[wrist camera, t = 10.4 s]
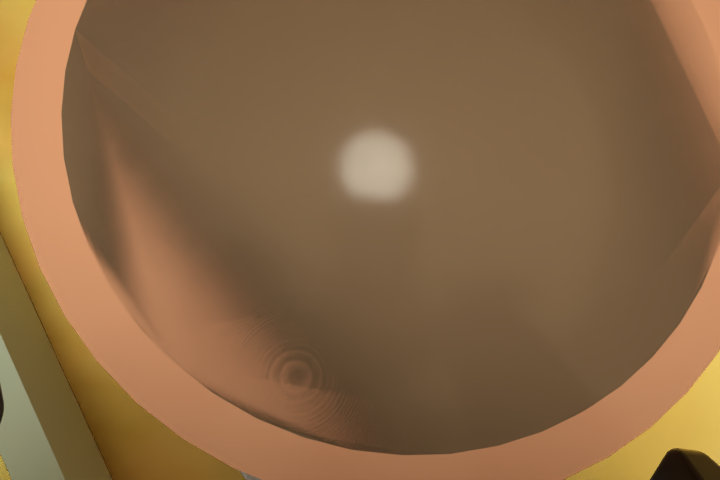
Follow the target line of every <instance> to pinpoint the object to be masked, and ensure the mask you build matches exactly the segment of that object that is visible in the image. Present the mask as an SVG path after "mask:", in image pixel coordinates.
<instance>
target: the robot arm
mask: <svg viewBox="0 0 720 480" xmlns="http://www.w3.org/2000/svg"><path fill="white" fill-rule="evenodd" d="M3 413H4V400H3V395H2V389H1V384H0V423H1V421H2V417H3ZM650 480H720V466H719V465H718V464H717V463H715V462H714V461H713V460H712V459H711V458H710V457H709V456H707V455H706V454H704V453H702V452H700V451H694V450H687V449H679V448H674V449H671V450H670V451H668V452H667V453H666V455H665V456H664V458H663V459H662V461H661V463H660V464H659V466H658V468H657V469H656V471H655V472H654V474H653V476H652V477H651V479H650Z"/></svg>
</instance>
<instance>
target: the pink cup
mask: <svg viewBox="0 0 720 480" xmlns="http://www.w3.org/2000/svg"><path fill="white" fill-rule="evenodd" d="M11 132H12V158H13V170H14V175H15V180H16V186H17V191H18V196H19V202H20V207H21V212H22V217H23V220H24V223H25V226H26V229H27V232H28V235H29V238H30V241H31V244H32V246H33V249H34V252H35V255H36V258H37V261H38V264H39V267H40V269H41V271H42V273H43V275H44V277H45V279H46V281H47V283H48V285H49V286H50V288H51V290H52V292H53V294H54V296H55V298H56V300H57V302H58V304H59V306H60V308H61V310H62V312H63V314H64V315H65V317H66V319H67V320H68V321H69V323H70V324H71V326H72V327H73V328H74V330H75V331H76V332H77V334H78V335H79V337H80V338H81V339H82V341H83V342H84V344H85V345H86V346H87V348H88V349H89V351H90V352H91V353H92V355H93V356H94V358H95V359H96V360H97V362H98V363H99V364H100V365H101V366H102V367H103V368H104V369H105V370H106V371H107V372H108V373H109V374H110V375H111V376H112V378H113V379H114V380H115V381H116V382H117V383H118V384H119V385H120V386H121V387H122V388H123V389H124V390H125V391H126V392H127V393H128V394H129V395H130V396H131V397H132V398H133V399H134V400H135V402H136V403H138V404H139V405H140V406H141V407H143V408H144V409H145V410H146V411H148V412H149V413H150V414H152V415H153V416H154V417H155V418H157V419H158V420H159V421H160V422H162V423H163V424H164V425H166V426H167V427H168V428H169V429H171V430H172V431H173V432H174V433H176V434H177V435H178V436H180V437H181V438H182V439H184V440H186V441H187V442H189V443H191V444H192V445H194V446H196V447H198V448H199V449H201V450H203V451H204V452H206V453H208V454H210V455H211V456H213V457H215V458H217V459H218V460H220V461H222V462H223V463H225V464H227V465H229V466H230V467H232V468H234V469H237V470H239V471H242V472H244V473H247V474H249V475H252V476H254V477H257V478H259V479H261V480H564V479H566V478H568V477H570V476H572V475H574V474H576V473H578V472H580V471H582V470H584V469H586V468H588V467H590V466H592V465H593V464H595V463H597V462H599V461H601V460H603V459H605V458H607V457H609V456H611V455H612V454H613V453H615V452H616V451H618V450H619V449H620V448H622V447H623V446H625V445H626V444H628V443H629V442H630V441H632V440H633V439H635V438H636V437H637V436H639V435H640V434H642V433H643V432H645V431H646V430H647V429H649V428H650V427H651V426H652V425H653V424H655V423H656V422H657V421H658V420H659V419H660V418H661V417H662V416H663V415H664V414H665V413H666V412H667V411H668V410H669V409H670V408H671V407H672V406H673V405H674V404H676V403H677V402H678V401H679V400H680V399H681V398H682V397H683V396H684V395H685V394H686V393H687V392H688V391H689V389H690V388H691V387H692V386H693V384H694V383H695V382H696V380H697V379H698V378H699V377H700V375H701V374H702V373H703V371H704V370H705V369H706V368H707V366H708V365H709V364H710V363H711V361H712V360H713V359H714V357H715V356H716V355H717V353H718V352H719V350H720V0H36V2H35V5H34V7H33V10H32V12H31V14H30V17H29V19H28V23H27V27H26V31H25V34H24V38H23V42H22V46H21V50H20V54H19V57H18V61H17V65H16V73H15V82H14V91H13V100H12V109H11Z"/></svg>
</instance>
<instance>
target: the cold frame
mask: <svg viewBox="0 0 720 480" xmlns="http://www.w3.org/2000/svg"><path fill="white" fill-rule="evenodd" d="M0 384H1V389H2V395H3V400H4V413H3V417H2V421H1V423H0V454H1V456H2V459H3V461H4V463H5V465H6V468H7V470H8V472H9V475H10V477H11V479H12V480H113V479H112V477H111V475H110V473H109V471H108V468H107V466H106V464H105V462H104V460H103V457H102V455H101V453H100V451H99V449H98V446H97V444H96V442H95V440H94V438H93V435H92V433H91V431H90V429H89V427H88V424H87V422H86V420H85V418H84V416H83V414H82V411H81V409H80V407H79V405H78V403H77V400H76V398H75V396H74V394H73V392H72V389H71V387H70V385H69V383H68V381H67V378H66V376H65V374H64V372H63V370H62V367H61V365H60V363H59V361H58V359H57V356H56V354H55V352H54V350H53V348H52V346H51V343H50V341H49V339H48V337H47V335H46V332H45V330H44V328H43V326H42V324H41V321H40V319H39V317H38V315H37V313H36V310H35V308H34V306H33V304H32V302H31V299H30V297H29V295H28V293H27V291H26V288H25V286H24V284H23V282H22V280H21V278H20V275H19V273H18V271H17V269H16V267H15V264H14V262H13V260H12V258H11V256H10V253H9V251H8V249H7V247H6V245H5V242H4V240H3V238H2V236H1V234H0Z"/></svg>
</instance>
